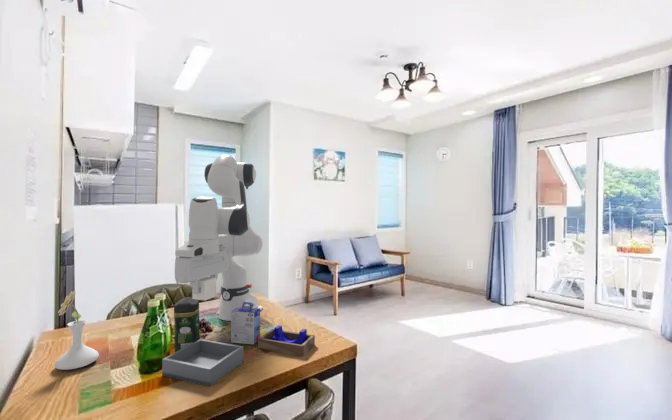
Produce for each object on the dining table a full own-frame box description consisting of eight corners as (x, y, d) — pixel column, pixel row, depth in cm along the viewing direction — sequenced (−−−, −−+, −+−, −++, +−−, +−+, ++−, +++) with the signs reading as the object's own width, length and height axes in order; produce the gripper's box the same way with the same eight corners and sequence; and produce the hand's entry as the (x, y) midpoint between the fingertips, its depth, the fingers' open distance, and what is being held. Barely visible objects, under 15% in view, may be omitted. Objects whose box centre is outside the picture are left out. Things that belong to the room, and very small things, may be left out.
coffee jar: (178, 345, 121) (178, 295, 121) (201, 343, 123) (201, 294, 122) (171, 357, 112) (170, 303, 111) (196, 355, 113) (195, 302, 113)
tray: (200, 352, 115) (200, 338, 115) (243, 361, 109) (243, 346, 109) (162, 375, 100) (162, 359, 100) (209, 386, 94) (209, 369, 94)
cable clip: (272, 345, 122) (272, 329, 122) (278, 340, 126) (278, 325, 126) (301, 350, 118) (301, 333, 118) (306, 345, 122) (306, 329, 122)
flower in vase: (61, 360, 109) (60, 286, 109) (102, 354, 114) (102, 282, 114) (46, 379, 98) (45, 296, 97) (92, 371, 102) (91, 292, 102)
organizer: (272, 337, 128) (272, 329, 128) (314, 344, 122) (314, 335, 122) (258, 348, 119) (258, 338, 119) (302, 356, 112) (302, 346, 112)
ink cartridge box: (261, 339, 127) (260, 302, 127) (254, 345, 121) (254, 306, 121) (237, 337, 129) (237, 300, 129) (230, 343, 123) (230, 304, 123)
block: (203, 294, 107) (203, 276, 107) (216, 296, 106) (216, 277, 105) (192, 298, 103) (192, 279, 102) (205, 300, 101) (205, 281, 101)
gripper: (218, 243, 115) (218, 282, 115) (170, 251, 95) (171, 298, 96) (233, 244, 112) (233, 284, 113) (187, 252, 93) (187, 300, 93)
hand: (204, 290), depth 104 cm, fingers closed on block, 5 cm apart
